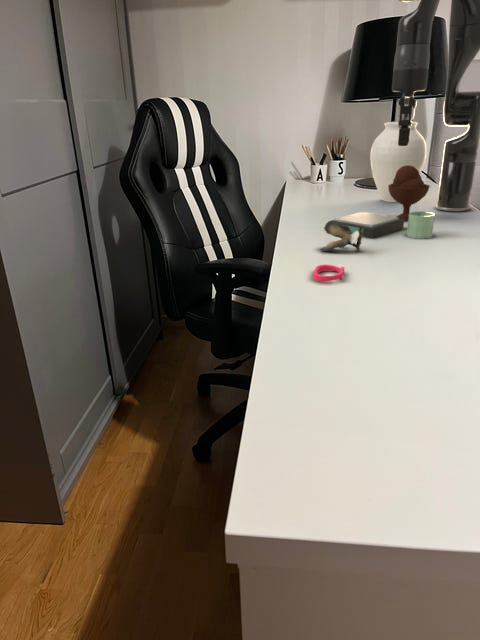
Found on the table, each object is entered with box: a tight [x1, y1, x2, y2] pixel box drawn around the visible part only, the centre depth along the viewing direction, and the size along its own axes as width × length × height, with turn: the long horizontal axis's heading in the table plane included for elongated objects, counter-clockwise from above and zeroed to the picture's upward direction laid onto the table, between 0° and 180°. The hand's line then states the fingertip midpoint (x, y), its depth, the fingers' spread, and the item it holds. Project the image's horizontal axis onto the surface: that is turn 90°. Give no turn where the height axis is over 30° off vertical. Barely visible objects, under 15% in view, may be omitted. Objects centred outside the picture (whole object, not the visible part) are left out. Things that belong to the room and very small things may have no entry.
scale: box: [330, 211, 405, 239], centre depth 133 cm, size 14×14×3 cm
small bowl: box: [406, 211, 436, 240], centre depth 125 cm, size 6×6×6 cm
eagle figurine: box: [319, 219, 364, 253], centre depth 114 cm, size 8×7×9 cm
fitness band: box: [312, 264, 345, 283], centre depth 98 cm, size 8×6×2 cm
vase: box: [369, 121, 428, 203], centre depth 167 cm, size 18×18×25 cm
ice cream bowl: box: [388, 165, 431, 222], centre depth 141 cm, size 11×11×15 cm
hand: (403, 144), depth 119 cm, fingers open, 8 cm apart
